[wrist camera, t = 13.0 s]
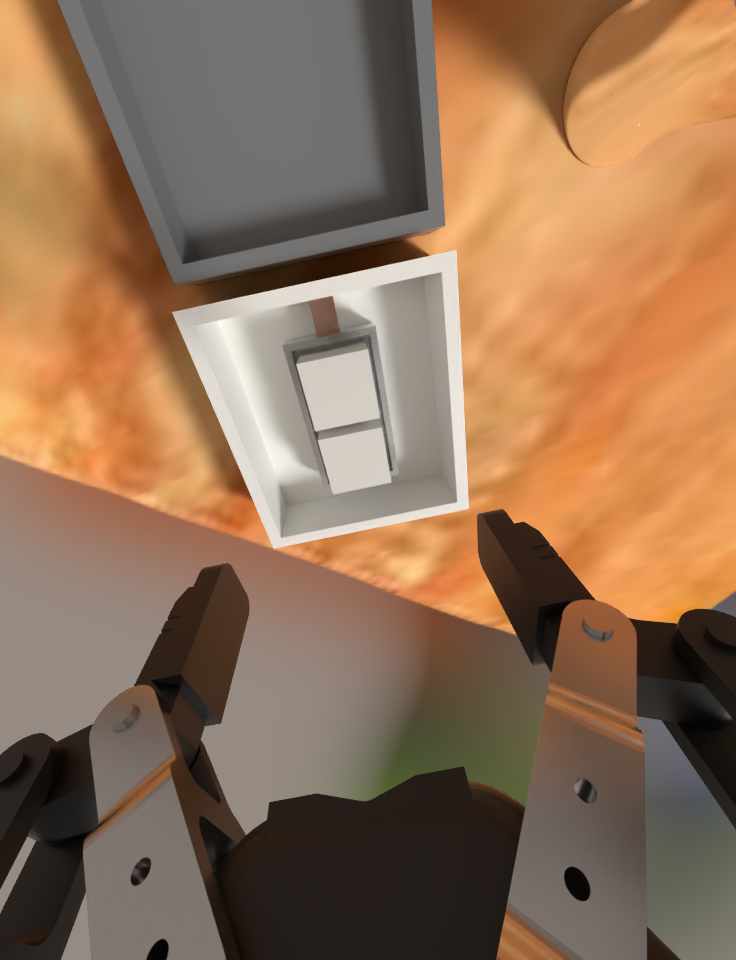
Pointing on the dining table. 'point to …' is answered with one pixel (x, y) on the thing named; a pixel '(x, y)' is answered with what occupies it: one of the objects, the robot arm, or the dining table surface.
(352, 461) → the off-white cube
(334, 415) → the light grey cube block
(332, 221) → the tray
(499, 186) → the dining table surface
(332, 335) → the scoop
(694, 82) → the silver metal goblet
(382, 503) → the bin
